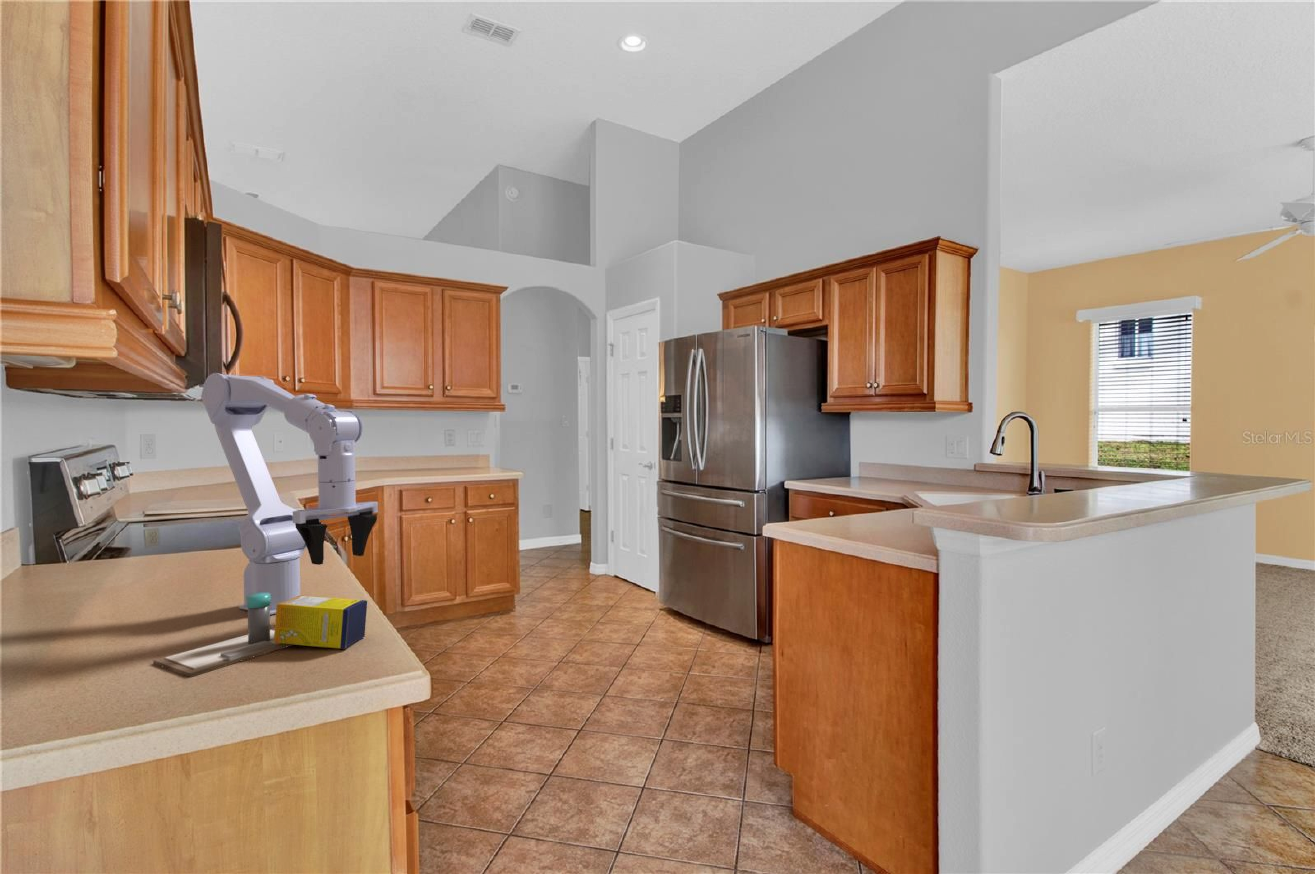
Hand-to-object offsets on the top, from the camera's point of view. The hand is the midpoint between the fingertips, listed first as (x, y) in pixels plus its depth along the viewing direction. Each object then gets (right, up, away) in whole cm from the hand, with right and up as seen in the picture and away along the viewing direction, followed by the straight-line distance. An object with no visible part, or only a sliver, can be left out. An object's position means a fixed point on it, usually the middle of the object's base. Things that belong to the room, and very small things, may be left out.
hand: (338, 559), depth 109 cm
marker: (-5, -10, -14) cm, 18 cm away
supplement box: (+10, -7, -14) cm, 18 cm away
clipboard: (-7, -10, -16) cm, 21 cm away
